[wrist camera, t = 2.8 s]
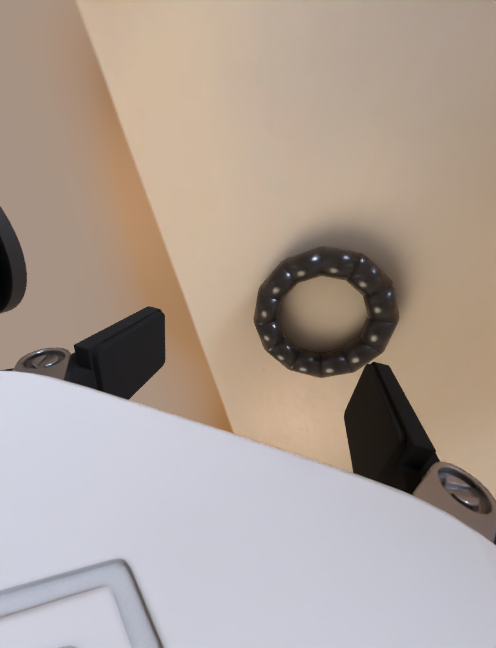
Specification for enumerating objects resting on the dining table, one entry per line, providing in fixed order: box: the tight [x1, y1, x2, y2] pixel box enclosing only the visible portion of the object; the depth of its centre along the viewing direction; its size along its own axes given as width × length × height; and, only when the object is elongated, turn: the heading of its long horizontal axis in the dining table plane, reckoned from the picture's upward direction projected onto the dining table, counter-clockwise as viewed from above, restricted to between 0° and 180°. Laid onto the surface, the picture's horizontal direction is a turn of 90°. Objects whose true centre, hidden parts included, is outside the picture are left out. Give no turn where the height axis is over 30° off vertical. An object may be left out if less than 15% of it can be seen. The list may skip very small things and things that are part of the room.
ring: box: [254, 247, 399, 378], centre depth 17 cm, size 10×10×2 cm
